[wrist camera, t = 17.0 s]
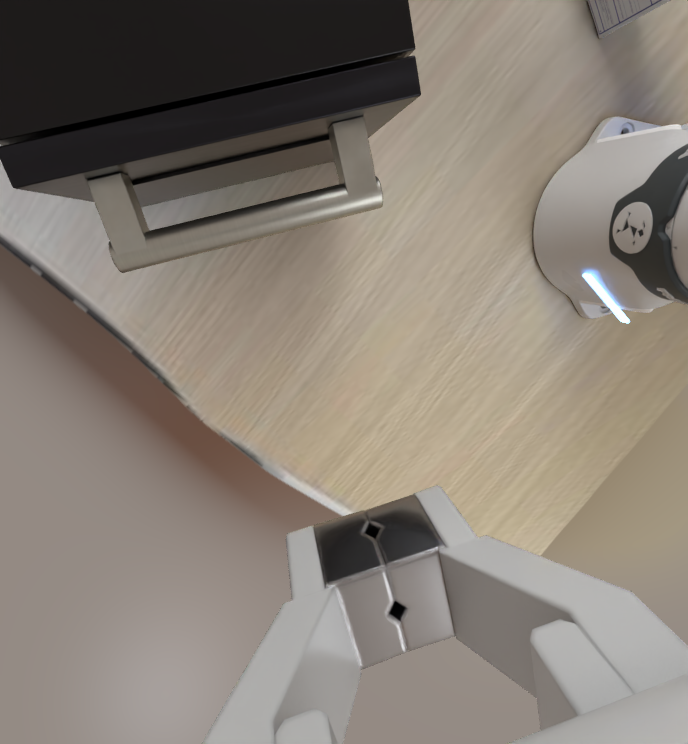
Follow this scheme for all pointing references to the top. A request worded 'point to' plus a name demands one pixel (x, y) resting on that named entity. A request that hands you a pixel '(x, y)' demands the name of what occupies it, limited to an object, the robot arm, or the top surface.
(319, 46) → the oven
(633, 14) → the medicine box
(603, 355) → the top surface
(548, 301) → the top surface
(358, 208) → the oven door
